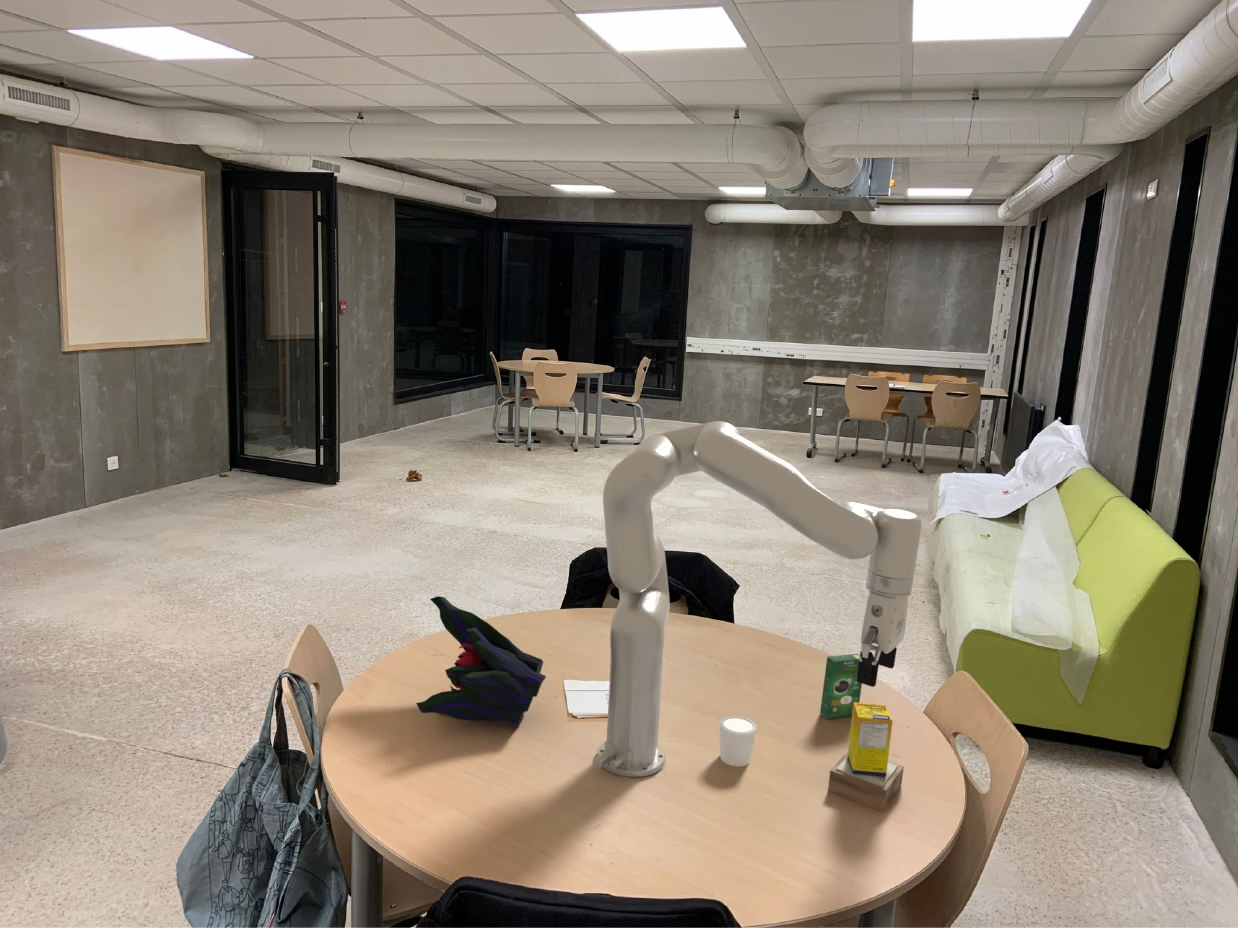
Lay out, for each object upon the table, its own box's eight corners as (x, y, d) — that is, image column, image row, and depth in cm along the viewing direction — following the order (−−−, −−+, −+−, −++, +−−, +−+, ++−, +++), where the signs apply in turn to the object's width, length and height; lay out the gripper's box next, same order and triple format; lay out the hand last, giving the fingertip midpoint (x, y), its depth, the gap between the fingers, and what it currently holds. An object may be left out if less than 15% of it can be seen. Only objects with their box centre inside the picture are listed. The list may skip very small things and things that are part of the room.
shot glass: (725, 770, 162) (728, 735, 161) (711, 750, 169) (714, 717, 167) (759, 766, 164) (762, 731, 163) (744, 747, 170) (747, 714, 169)
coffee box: (851, 709, 188) (858, 651, 186) (859, 715, 186) (866, 657, 183) (819, 713, 186) (825, 655, 183) (826, 720, 183) (833, 661, 180)
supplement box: (879, 759, 160) (886, 704, 158) (886, 777, 154) (893, 720, 152) (846, 756, 161) (852, 701, 158) (851, 774, 155) (858, 717, 153)
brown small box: (883, 811, 152) (886, 789, 151) (827, 790, 157) (830, 768, 156) (901, 786, 160) (904, 764, 159) (848, 767, 165) (850, 746, 164)
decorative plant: (506, 778, 172) (367, 720, 176) (552, 680, 193) (428, 629, 196) (521, 716, 160) (371, 655, 163) (569, 618, 180) (435, 565, 183)
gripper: (895, 600, 141) (880, 698, 145) (926, 575, 155) (911, 665, 159) (850, 588, 145) (836, 684, 149) (884, 565, 160) (871, 653, 163)
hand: (875, 674), depth 154 cm, fingers open, 9 cm apart
